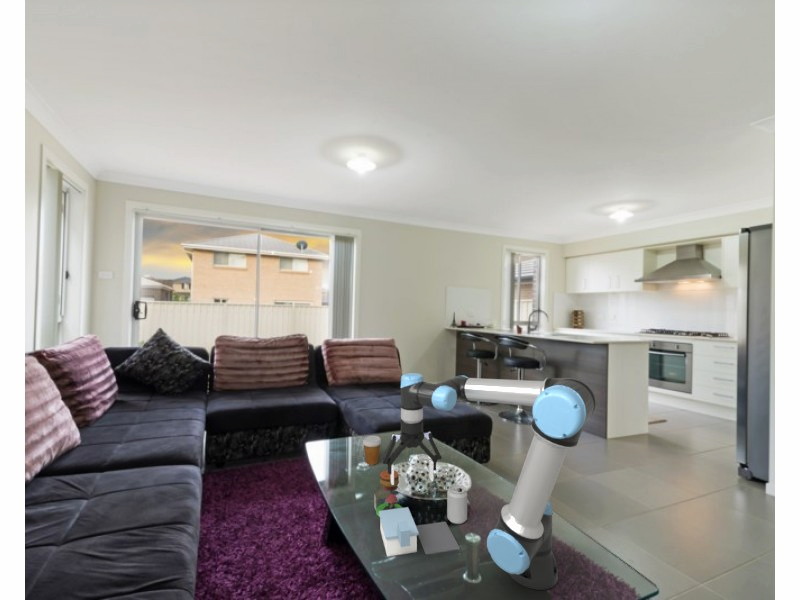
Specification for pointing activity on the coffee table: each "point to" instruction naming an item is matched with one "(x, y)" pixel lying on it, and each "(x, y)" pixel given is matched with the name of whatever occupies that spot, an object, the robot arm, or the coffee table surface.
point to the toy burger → (386, 492)
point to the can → (457, 504)
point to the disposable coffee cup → (372, 449)
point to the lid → (398, 525)
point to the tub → (398, 545)
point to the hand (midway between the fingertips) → (412, 481)
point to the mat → (436, 538)
